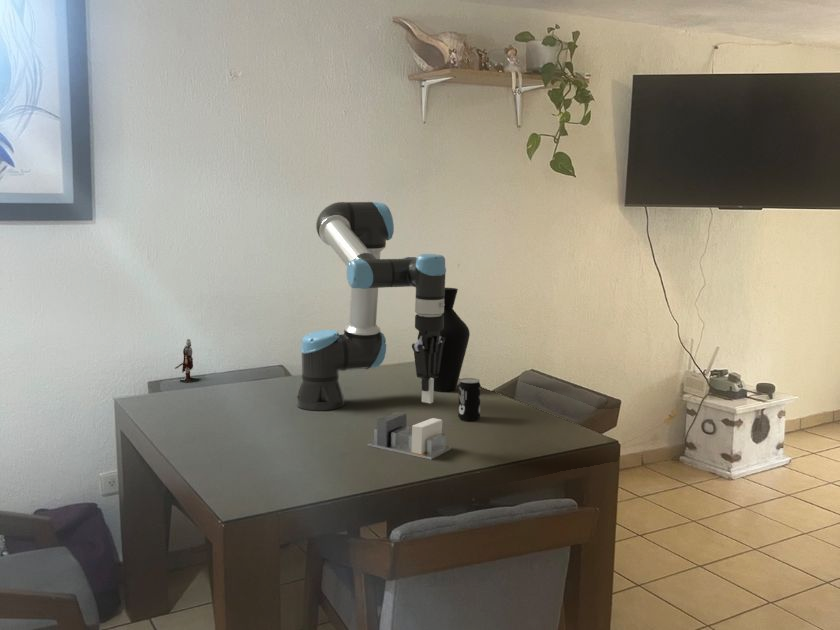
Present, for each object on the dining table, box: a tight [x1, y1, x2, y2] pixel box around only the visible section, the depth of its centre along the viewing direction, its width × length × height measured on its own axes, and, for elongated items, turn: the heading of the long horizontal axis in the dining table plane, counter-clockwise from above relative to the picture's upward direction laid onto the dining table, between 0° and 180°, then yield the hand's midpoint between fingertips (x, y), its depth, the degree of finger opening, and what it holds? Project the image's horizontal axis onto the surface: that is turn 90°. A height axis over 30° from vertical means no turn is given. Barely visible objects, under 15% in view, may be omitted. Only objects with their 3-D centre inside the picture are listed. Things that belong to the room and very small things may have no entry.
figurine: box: [174, 339, 200, 384], centre depth 283 cm, size 7×7×15 cm
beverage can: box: [457, 377, 482, 422], centre depth 239 cm, size 7×7×12 cm
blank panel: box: [411, 417, 443, 454], centre depth 209 cm, size 3×10×7 cm, turn 147°
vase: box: [433, 287, 471, 393], centre depth 273 cm, size 17×17×35 cm
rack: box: [367, 411, 452, 460], centre depth 212 cm, size 20×10×8 cm, turn 58°
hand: (427, 401), depth 210 cm, fingers closed
